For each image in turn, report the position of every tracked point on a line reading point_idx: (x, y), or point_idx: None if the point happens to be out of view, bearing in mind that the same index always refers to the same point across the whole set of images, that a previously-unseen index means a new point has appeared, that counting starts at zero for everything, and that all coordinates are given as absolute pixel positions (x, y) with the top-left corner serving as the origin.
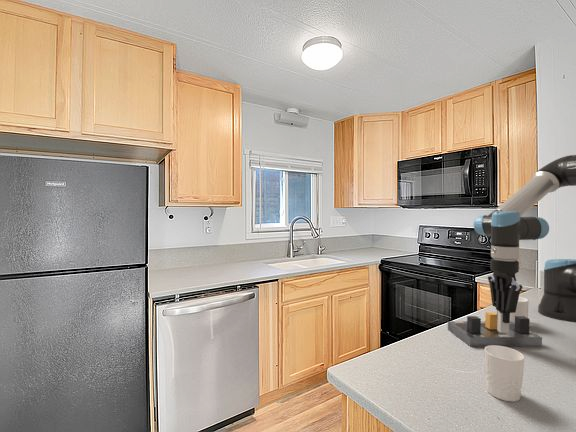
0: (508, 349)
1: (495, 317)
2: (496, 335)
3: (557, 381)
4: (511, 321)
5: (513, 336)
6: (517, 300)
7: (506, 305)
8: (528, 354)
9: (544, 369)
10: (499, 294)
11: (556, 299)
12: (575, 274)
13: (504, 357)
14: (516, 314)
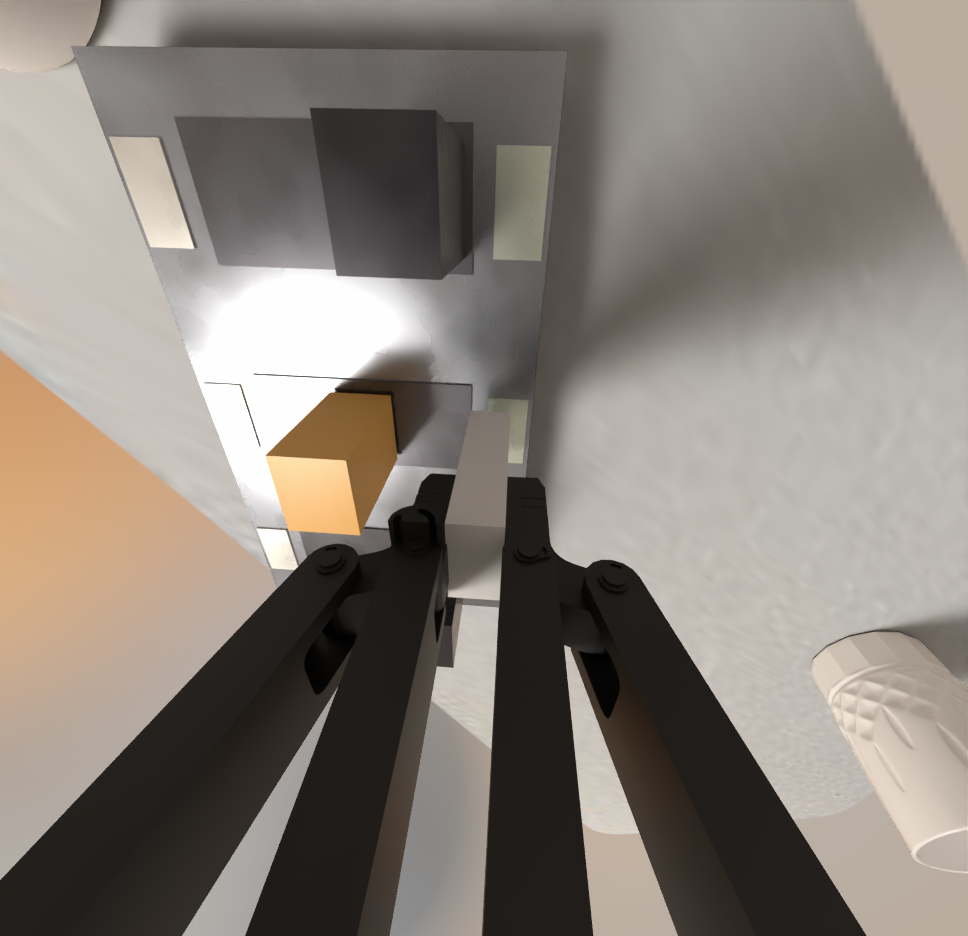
0: None
1: (362, 476)
2: None
3: (950, 435)
4: (32, 3)
5: (518, 366)
6: (775, 805)
7: (603, 718)
8: (654, 340)
9: (835, 399)
10: (402, 851)
11: None
12: None
13: (931, 765)
14: None
